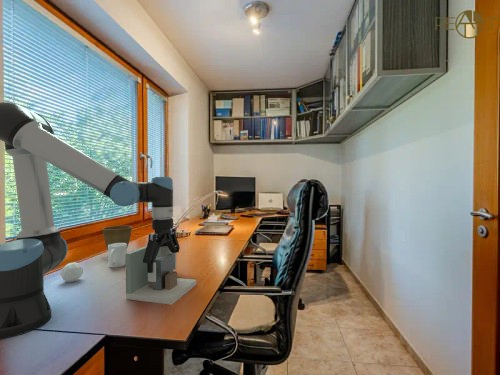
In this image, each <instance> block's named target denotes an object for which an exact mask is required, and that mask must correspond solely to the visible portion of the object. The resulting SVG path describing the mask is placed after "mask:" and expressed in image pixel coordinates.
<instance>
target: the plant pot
mask: <svg viewBox="0 0 500 375" xmlns="http://www.w3.org/2000/svg"><path fill="white" fill-rule="evenodd" d="M132 229H133V226H132V225H112V226H105V227H103V228H102V235H103V240H104V244H105V246H106V250H107V251H108V245H110V244H114V243H126V244H127V248H128V247H129V245H130V241H131V237H132V236H131V235H132Z"/></svg>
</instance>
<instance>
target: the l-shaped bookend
mask: <svg viewBox="0 0 500 375" xmlns="http://www.w3.org/2000/svg"><path fill="white" fill-rule="evenodd" d="M146 247H147V245H145V246H143V247H140V248H136V249H134V250H132V251H127V253H125V262H126V265H125V300H131V301H132V300H133V301H139V302H146V303H155V304H162V305H169V306H171V305H173V304H174V303H176V302H177V301H178V300H179V299H181V298H182V297H183V296H185V294H187V293H188V292H189V291H190V290H191V289H193V288H195V286H197V279H192V278H191V279H190V278H182V277H178V271H174V270H173V271H172V272H170V273H169V274H167V275H165V289H163V290H162V291H159V290H153V282H150V281H148V272H147V263H143V258H144V254H145V251H146ZM159 256H161V247H160V249H159V251H158V254H157V256H156V258H157V257H159Z"/></svg>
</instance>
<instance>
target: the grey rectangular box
mask: <svg viewBox="0 0 500 375" xmlns="http://www.w3.org/2000/svg"><path fill="white" fill-rule="evenodd" d="M154 263H156V282H153V290H159V291H162V290H163V289H165V275H167V274H169V273H170V272H172V271H174V270H173V254H163V255H161V256H159V257H157V258H156V259H155V261H154Z"/></svg>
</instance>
